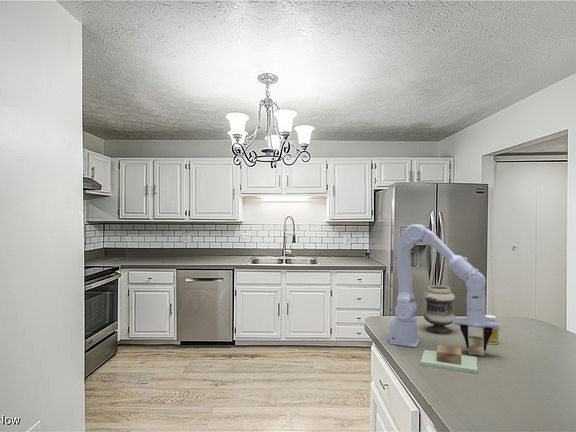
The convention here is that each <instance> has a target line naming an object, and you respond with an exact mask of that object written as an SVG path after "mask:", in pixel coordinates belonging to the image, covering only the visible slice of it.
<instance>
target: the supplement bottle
mask: <svg viewBox="0 0 576 432" xmlns="http://www.w3.org/2000/svg"><path fill="white" fill-rule="evenodd" d="M485 321H489V322H494V323H498V322H496V321H497V317H496V316H495V315H492V314H485ZM492 330H493V332H492V335H491V336H490V338H489V340H488V343H487V345H498V344H499V330H497V329H492ZM481 337H483V339H484V328H481Z"/></svg>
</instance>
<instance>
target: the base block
mask: <svg viewBox="0 0 576 432" xmlns="http://www.w3.org/2000/svg"><path fill="white" fill-rule="evenodd" d="M436 351H437V361H439V362H446V363H452V364H459V365H461V355H462V347H456V346H451V345H450V346H448V345H439V344H438V345H437V348H436Z"/></svg>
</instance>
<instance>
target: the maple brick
mask: <svg viewBox="0 0 576 432" xmlns="http://www.w3.org/2000/svg"><path fill="white" fill-rule="evenodd" d="M468 341H469V349H468V355H471V356H473V355H474V356H481V357H484V356H485V351H484V339H483V337H482V336H478V335H477V336H476V335H468Z"/></svg>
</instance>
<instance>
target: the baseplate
mask: <svg viewBox="0 0 576 432" xmlns="http://www.w3.org/2000/svg"><path fill="white" fill-rule="evenodd" d="M420 365H421V366H426V367H432V368H439V369H446V370H452V371H453V370H454V371H460V372H466V373H471V372H472V374H478V372H479V371H478V357H477V356H475V355H474V356H473V355H465V354H461V365H459V364H452V363H446V362H439V361H437V350H436V351H435V350H430V349H429V350H428V349H424V350H423V353H422V356H421V360H420Z"/></svg>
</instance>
